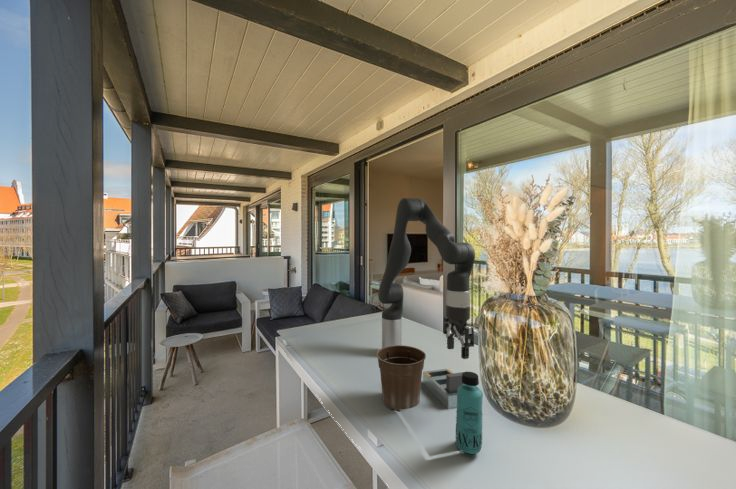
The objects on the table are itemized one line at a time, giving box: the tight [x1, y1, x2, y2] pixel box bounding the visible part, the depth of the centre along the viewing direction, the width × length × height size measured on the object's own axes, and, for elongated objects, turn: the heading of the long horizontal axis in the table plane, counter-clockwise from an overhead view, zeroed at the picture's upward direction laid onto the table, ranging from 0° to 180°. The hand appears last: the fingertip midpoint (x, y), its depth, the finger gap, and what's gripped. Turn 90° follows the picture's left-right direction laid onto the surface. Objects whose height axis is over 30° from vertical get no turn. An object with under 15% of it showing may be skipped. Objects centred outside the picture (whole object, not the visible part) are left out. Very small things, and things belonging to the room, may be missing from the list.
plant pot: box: [375, 344, 427, 412], centre depth 100 cm, size 16×16×16 cm
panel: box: [446, 371, 465, 394], centre depth 99 cm, size 2×7×9 cm, turn 106°
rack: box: [422, 368, 457, 410], centre depth 105 cm, size 18×10×5 cm, turn 16°
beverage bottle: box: [455, 371, 484, 455], centre depth 77 cm, size 6×7×20 cm
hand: (457, 353), depth 99 cm, fingers open, 8 cm apart
